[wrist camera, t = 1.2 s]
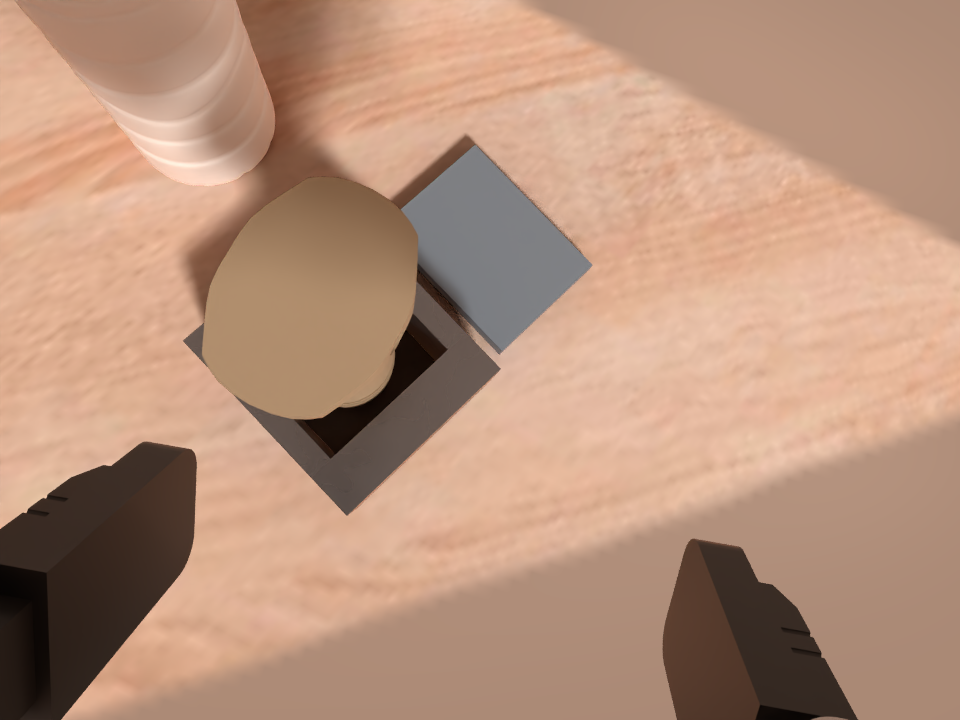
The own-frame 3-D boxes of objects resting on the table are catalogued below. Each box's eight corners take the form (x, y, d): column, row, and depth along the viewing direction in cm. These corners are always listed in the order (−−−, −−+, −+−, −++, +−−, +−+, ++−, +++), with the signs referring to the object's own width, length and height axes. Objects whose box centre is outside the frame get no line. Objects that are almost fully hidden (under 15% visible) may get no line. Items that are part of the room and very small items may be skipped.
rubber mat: (382, 232, 35) (381, 225, 34) (473, 153, 36) (475, 144, 35) (499, 354, 34) (502, 351, 33) (587, 270, 35) (592, 265, 34)
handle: (432, 336, 34) (453, 232, 19) (366, 459, 33) (335, 449, 18) (340, 288, 34) (291, 146, 19) (271, 410, 33) (162, 359, 18)
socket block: (216, 360, 33) (182, 340, 28) (351, 242, 34) (342, 204, 29) (355, 509, 33) (346, 515, 28) (486, 384, 34) (500, 369, 29)
